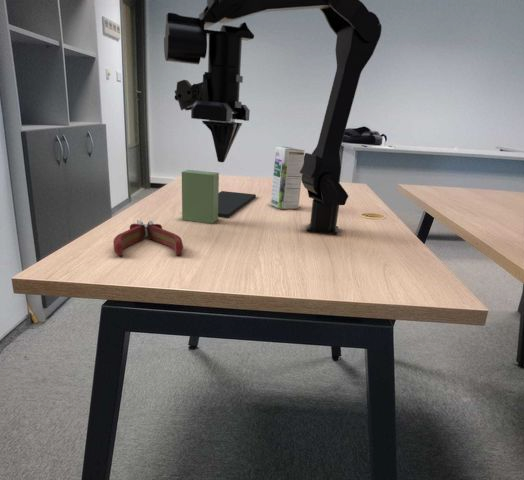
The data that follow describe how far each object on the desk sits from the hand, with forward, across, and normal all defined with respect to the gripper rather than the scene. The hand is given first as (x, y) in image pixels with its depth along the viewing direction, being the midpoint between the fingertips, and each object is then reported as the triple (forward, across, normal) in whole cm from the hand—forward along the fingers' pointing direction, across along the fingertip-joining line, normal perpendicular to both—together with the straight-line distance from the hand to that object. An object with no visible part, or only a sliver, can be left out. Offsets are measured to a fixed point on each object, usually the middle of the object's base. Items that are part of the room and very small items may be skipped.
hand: (221, 162), depth 90 cm
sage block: (+13, -8, -7) cm, 17 cm away
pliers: (+14, +13, -8) cm, 21 cm away
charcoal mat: (+13, -28, -6) cm, 32 cm away
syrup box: (+13, -33, +9) cm, 37 cm away
